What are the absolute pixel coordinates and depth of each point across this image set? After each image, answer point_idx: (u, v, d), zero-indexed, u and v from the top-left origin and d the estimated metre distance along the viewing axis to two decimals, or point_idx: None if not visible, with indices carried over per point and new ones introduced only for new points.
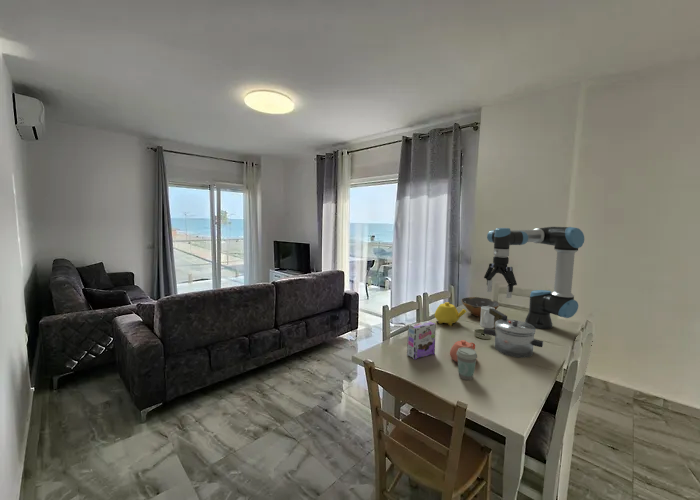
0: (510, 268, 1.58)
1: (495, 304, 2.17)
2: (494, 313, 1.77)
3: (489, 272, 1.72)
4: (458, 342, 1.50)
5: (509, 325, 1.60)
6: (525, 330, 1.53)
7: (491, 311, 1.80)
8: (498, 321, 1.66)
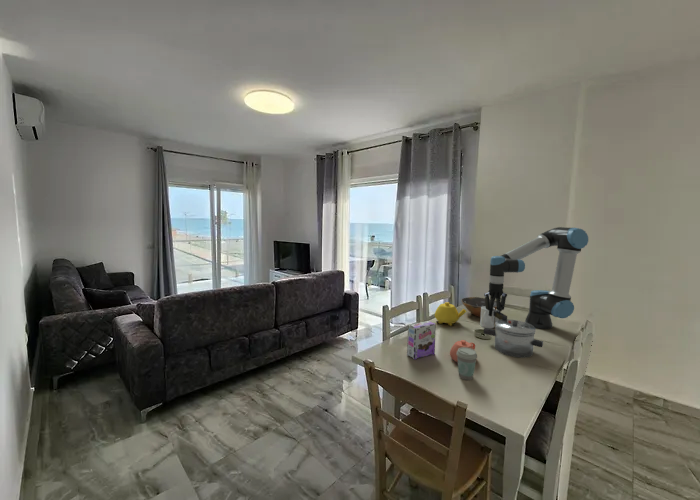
0: (485, 295, 1.78)
1: (495, 304, 2.17)
2: (494, 313, 1.77)
3: (501, 301, 1.79)
4: (458, 342, 1.50)
5: (509, 325, 1.60)
6: (525, 330, 1.53)
7: None
8: (498, 321, 1.66)
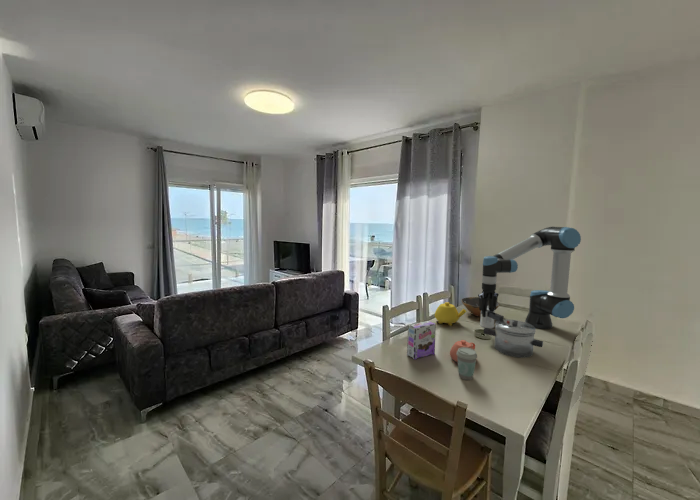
0: (479, 296, 1.75)
1: None
2: (488, 314, 1.76)
3: (493, 301, 1.79)
4: (458, 342, 1.50)
5: (510, 325, 1.60)
6: (528, 330, 1.53)
7: None
8: (497, 322, 1.64)
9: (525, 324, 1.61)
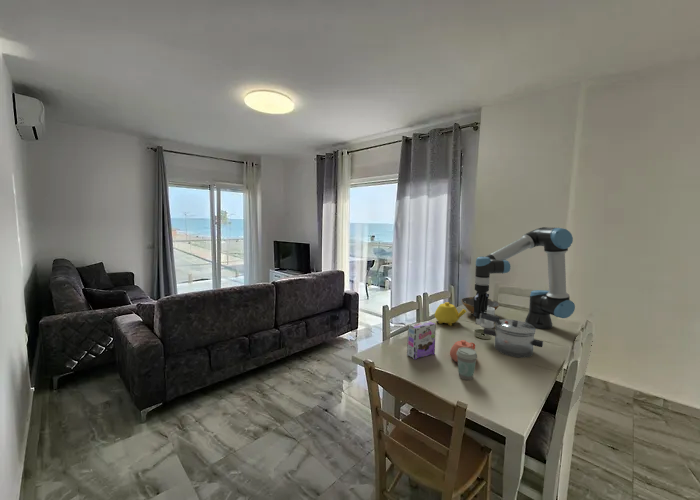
0: (475, 298, 1.70)
1: (495, 304, 2.17)
2: (482, 315, 1.73)
3: None
4: (458, 342, 1.50)
5: (511, 326, 1.59)
6: (530, 329, 1.55)
7: None
8: (497, 324, 1.62)
9: (522, 323, 1.63)
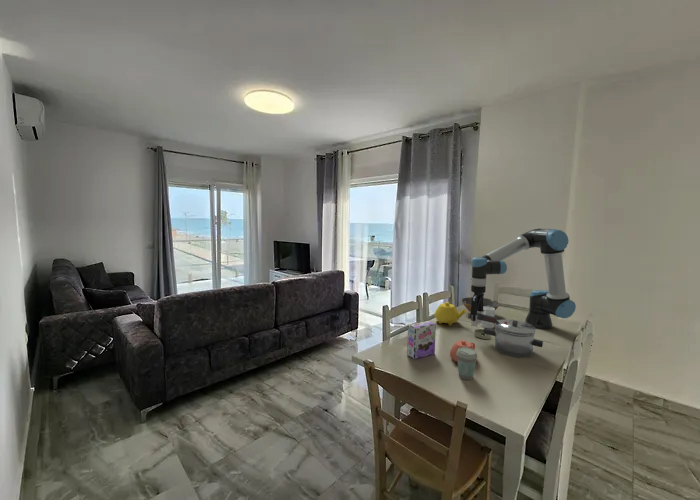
0: (473, 299, 1.66)
1: (495, 304, 2.17)
2: (480, 317, 1.70)
3: None
4: (458, 342, 1.50)
5: (512, 326, 1.58)
6: (530, 328, 1.56)
7: None
8: (499, 325, 1.60)
9: (519, 322, 1.64)
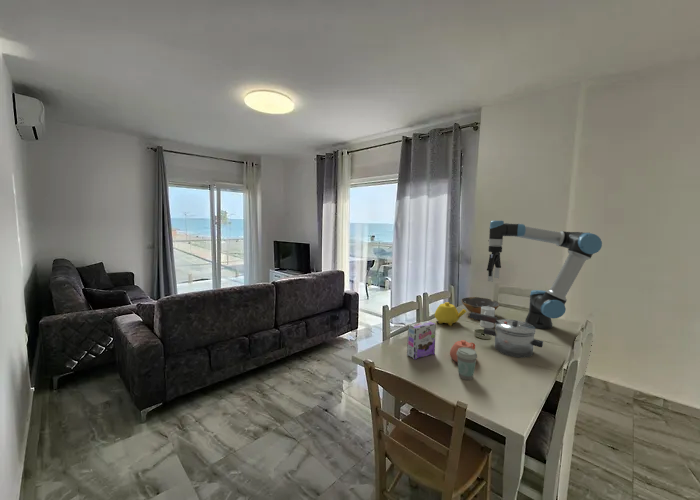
0: (491, 255, 1.81)
1: (495, 304, 2.17)
2: (480, 317, 1.70)
3: None
4: (458, 342, 1.50)
5: (512, 326, 1.58)
6: (530, 328, 1.56)
7: (474, 315, 1.72)
8: (499, 325, 1.60)
9: (519, 322, 1.64)
